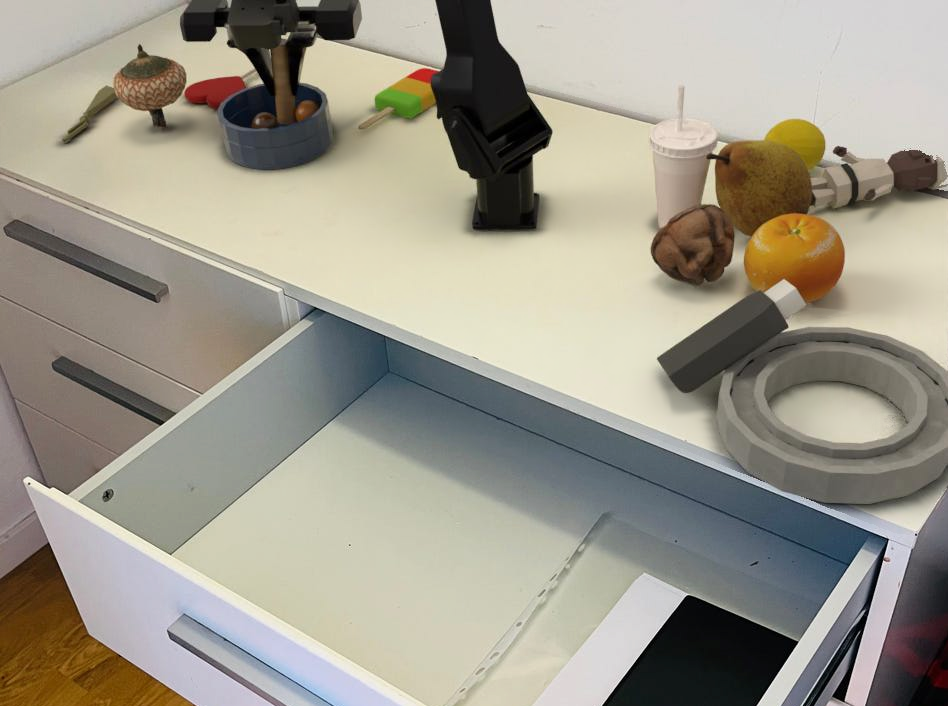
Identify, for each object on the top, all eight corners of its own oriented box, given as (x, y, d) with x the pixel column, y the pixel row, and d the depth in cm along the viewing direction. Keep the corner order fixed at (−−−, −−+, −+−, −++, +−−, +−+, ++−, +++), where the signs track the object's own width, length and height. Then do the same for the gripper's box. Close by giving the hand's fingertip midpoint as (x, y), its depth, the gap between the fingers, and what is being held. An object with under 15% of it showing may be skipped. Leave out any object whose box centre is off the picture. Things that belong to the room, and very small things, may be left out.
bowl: (322, 169, 128) (316, 130, 125) (214, 170, 129) (205, 132, 126) (341, 117, 137) (335, 80, 134) (239, 119, 138) (232, 82, 135)
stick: (287, 126, 133) (279, 47, 127) (273, 121, 134) (265, 42, 128) (300, 120, 134) (293, 41, 128) (287, 115, 135) (279, 36, 129)
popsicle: (459, 89, 140) (458, 74, 139) (379, 141, 132) (377, 125, 131) (423, 80, 143) (421, 65, 142) (342, 129, 135) (340, 114, 133)
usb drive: (668, 376, 93) (686, 402, 94) (798, 288, 91) (815, 316, 92) (655, 358, 98) (673, 383, 99) (778, 273, 96) (795, 300, 97)
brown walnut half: (676, 256, 101) (651, 216, 104) (669, 311, 108) (645, 273, 110) (756, 228, 102) (729, 190, 104) (743, 285, 109) (719, 247, 111)
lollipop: (256, 52, 151) (177, 99, 142) (255, 45, 151) (175, 92, 142) (305, 63, 148) (227, 112, 139) (304, 56, 147) (226, 105, 138)
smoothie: (667, 201, 119) (675, 67, 109) (722, 219, 116) (736, 83, 106) (632, 229, 116) (637, 92, 106) (687, 248, 113) (698, 110, 103)
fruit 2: (805, 165, 115) (746, 78, 108) (839, 211, 109) (778, 123, 102) (732, 219, 119) (669, 139, 111) (760, 268, 112) (696, 186, 105)
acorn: (211, 122, 138) (192, 38, 131) (159, 151, 133) (136, 66, 126) (164, 106, 142) (143, 23, 135) (112, 134, 137) (87, 50, 130)
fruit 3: (713, 245, 106) (772, 189, 100) (777, 247, 111) (837, 193, 104) (750, 325, 103) (812, 272, 97) (814, 323, 108) (877, 273, 102)
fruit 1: (753, 185, 120) (814, 184, 124) (786, 157, 115) (849, 157, 119) (740, 137, 121) (801, 137, 125) (771, 107, 116) (834, 108, 120)
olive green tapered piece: (107, 91, 144) (106, 84, 144) (129, 99, 144) (128, 92, 143) (45, 137, 137) (43, 130, 136) (68, 145, 136) (67, 138, 135)
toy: (785, 152, 117) (929, 118, 117) (781, 190, 120) (920, 157, 121) (817, 203, 112) (967, 167, 112) (811, 241, 116) (956, 206, 116)
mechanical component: (701, 484, 89) (704, 454, 87) (734, 344, 101) (737, 315, 99) (953, 521, 84) (962, 491, 82) (956, 369, 97) (963, 340, 95)
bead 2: (290, 128, 133) (302, 114, 130) (290, 105, 134) (302, 91, 131) (314, 136, 134) (326, 123, 132) (314, 113, 135) (326, 100, 133)
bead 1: (263, 142, 134) (263, 147, 131) (246, 121, 133) (246, 125, 130) (283, 126, 134) (284, 131, 131) (266, 104, 132) (267, 108, 130)
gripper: (149, -21, 116) (184, 128, 126) (335, -24, 114) (354, 127, 125) (179, -60, 123) (210, 83, 134) (353, -64, 122) (370, 82, 133)
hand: (284, 94), depth 131 cm, fingers closed on stick, 2 cm apart
